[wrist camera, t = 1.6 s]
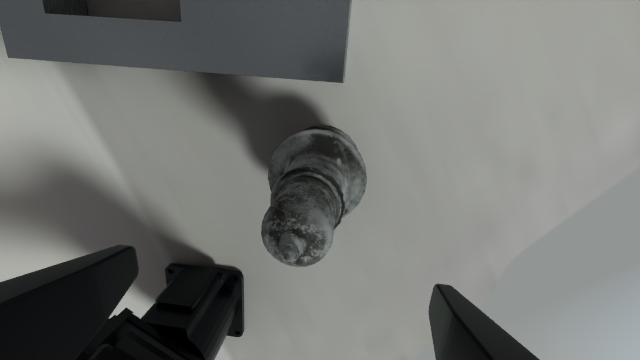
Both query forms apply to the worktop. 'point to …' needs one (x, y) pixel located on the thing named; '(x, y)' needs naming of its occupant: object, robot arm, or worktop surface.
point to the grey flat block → (189, 37)
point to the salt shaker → (311, 193)
